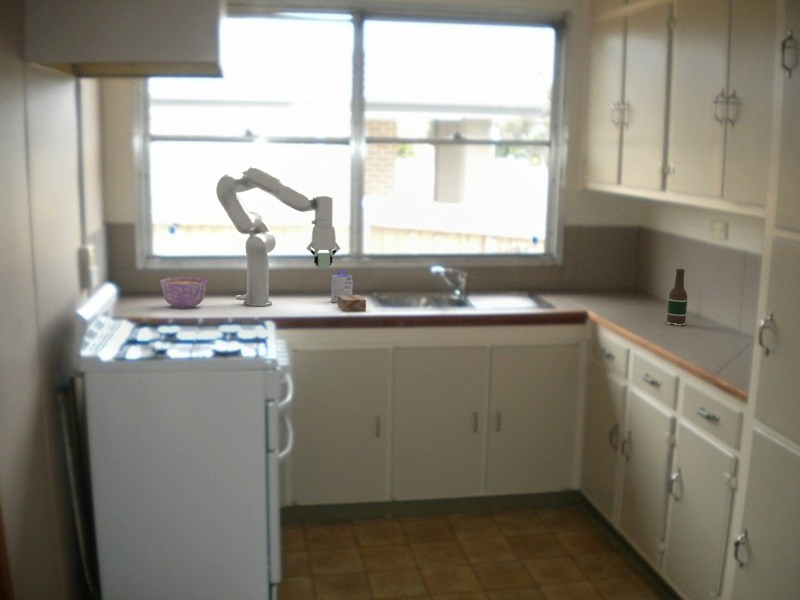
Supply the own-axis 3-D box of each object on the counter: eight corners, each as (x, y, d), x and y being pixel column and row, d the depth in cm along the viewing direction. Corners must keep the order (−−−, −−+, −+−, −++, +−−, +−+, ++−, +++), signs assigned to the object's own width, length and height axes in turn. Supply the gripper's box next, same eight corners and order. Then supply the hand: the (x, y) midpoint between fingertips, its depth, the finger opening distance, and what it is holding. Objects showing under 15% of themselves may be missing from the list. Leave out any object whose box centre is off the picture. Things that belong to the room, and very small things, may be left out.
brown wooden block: (343, 311, 393) (343, 300, 392) (337, 306, 405) (338, 295, 404) (365, 311, 395) (366, 299, 394) (359, 306, 407) (359, 295, 407)
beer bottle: (688, 326, 386) (693, 270, 382) (673, 326, 384) (677, 270, 380) (678, 322, 394) (683, 267, 390) (662, 322, 391) (667, 268, 387)
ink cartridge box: (352, 300, 421) (352, 270, 418) (352, 302, 415) (353, 271, 413) (330, 300, 420) (331, 269, 417) (330, 302, 414) (331, 271, 412)
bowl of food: (217, 307, 391) (217, 281, 389) (177, 312, 376) (177, 285, 374) (190, 301, 404) (190, 276, 402) (151, 306, 389) (150, 279, 388)
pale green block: (318, 267, 391) (318, 254, 390) (316, 266, 395) (316, 252, 394) (329, 267, 392) (330, 253, 391) (327, 266, 397) (328, 252, 396)
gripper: (305, 224, 385) (305, 266, 388) (344, 224, 389) (344, 266, 392) (302, 222, 392) (302, 264, 395) (341, 222, 396) (341, 263, 399)
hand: (323, 264), depth 393 cm, fingers closed on pale green block, 5 cm apart
